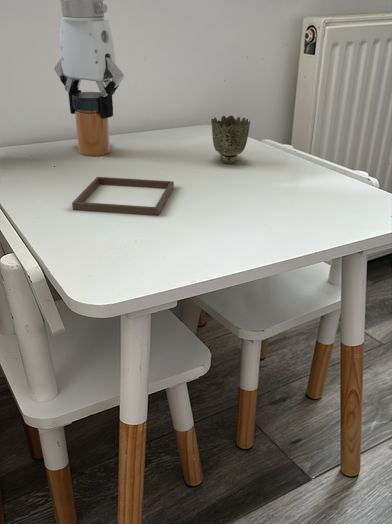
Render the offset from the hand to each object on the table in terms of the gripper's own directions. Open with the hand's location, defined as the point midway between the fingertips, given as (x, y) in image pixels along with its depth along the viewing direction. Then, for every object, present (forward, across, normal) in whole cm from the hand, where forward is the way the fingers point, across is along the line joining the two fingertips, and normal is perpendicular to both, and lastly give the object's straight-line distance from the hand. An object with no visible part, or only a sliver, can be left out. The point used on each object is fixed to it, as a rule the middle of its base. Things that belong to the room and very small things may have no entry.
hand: (91, 114), depth 111 cm
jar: (+7, 0, 0) cm, 7 cm away
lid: (-3, 0, 0) cm, 3 cm away
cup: (+8, -26, -9) cm, 29 cm away
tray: (+7, -24, +21) cm, 33 cm away
